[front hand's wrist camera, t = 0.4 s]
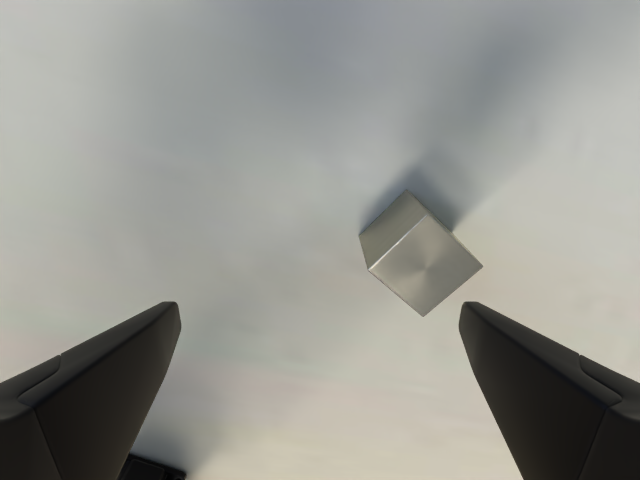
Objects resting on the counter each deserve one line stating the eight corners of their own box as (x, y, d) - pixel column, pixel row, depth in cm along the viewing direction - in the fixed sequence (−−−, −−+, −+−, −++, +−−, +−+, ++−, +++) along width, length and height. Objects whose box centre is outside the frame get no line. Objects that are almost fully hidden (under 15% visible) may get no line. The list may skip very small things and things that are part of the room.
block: (452, 233, 22) (483, 266, 18) (404, 276, 23) (423, 317, 19) (406, 188, 21) (428, 213, 17) (358, 236, 22) (367, 270, 18)
